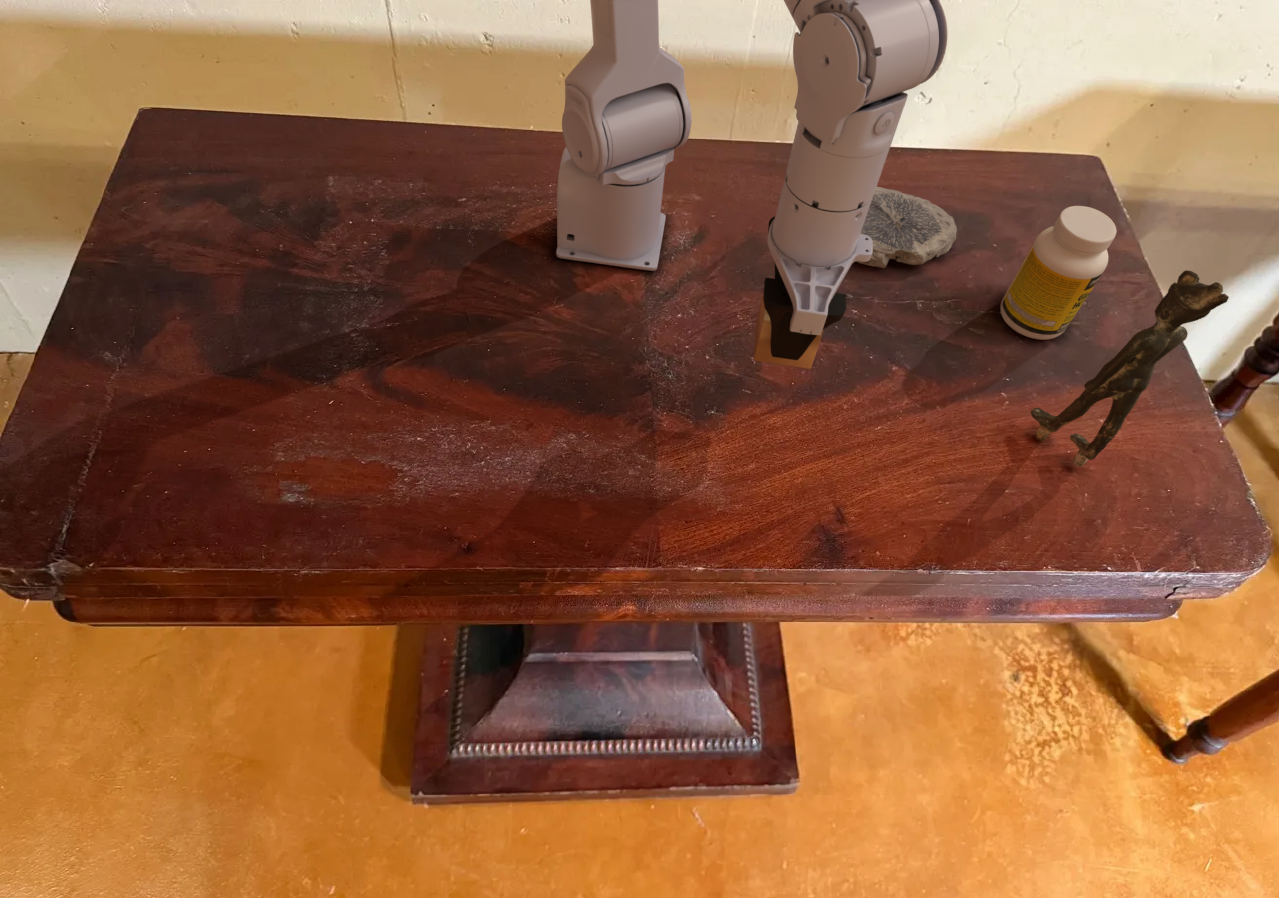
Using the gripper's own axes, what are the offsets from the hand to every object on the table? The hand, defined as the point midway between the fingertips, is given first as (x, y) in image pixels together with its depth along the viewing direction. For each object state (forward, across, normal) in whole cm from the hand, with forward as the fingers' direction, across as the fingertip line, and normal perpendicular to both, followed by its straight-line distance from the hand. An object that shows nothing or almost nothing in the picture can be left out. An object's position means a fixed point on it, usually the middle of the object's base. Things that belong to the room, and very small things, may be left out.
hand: (786, 331), depth 67 cm
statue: (+9, 0, -24) cm, 26 cm away
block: (+1, 0, 0) cm, 1 cm away
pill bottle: (+8, +15, -24) cm, 29 cm away
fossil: (+9, +23, -11) cm, 27 cm away
